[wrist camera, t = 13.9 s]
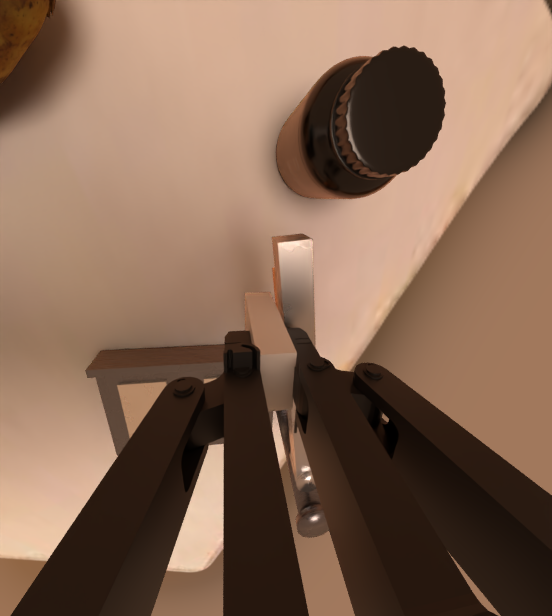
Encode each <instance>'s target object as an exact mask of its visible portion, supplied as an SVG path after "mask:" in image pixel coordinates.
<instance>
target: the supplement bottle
mask: <svg viewBox="0 0 552 616" xmlns="http://www.w3.org/2000/svg"><path fill="white" fill-rule="evenodd" d="M444 96H445V90H444V88H443V79H442V78H441V76H440V75H439V71H438V68H437V67H436V66H434V64H433V61H432V59H430V58H428V57H427V56H426V55H425V53H424V52H419V51H418V50H417V49H416V48H415V47H413V48H408V47H406V46H402V47H400V48H397V47H391V48H390V49H389V50H383V51H381V52H379V53H378V54H377V55H376V56H375V57H370V56H358V57H352V58H349V59H346V60H344V61H341V62H339V63H338V64H336V65H334V66H333V67H332V68H330V69H329V70H328V71H327V72H326V73H324V74H323V75H322V76H321V77H320V79H319V80H318V81H317V82H316V83H315V84H314V86H313V87H312V88H311V89H310V91H309V92H308V93H307V95H306V96H305V97H304V98H303V100H302V101H301V102H300V104H299V105H298V106H297V107H296V109H295V110H294V111H293V113H292V114H291V115H290V116H289V118H288V119H287V121H286V122H285V124H284V126H283V127H282V130H281V132H280V135H279V138H278V142H277V149H276V157H277V164H278V168H279V171H280V174H281V176H282V178H283V180H284V181H285V183H286V184H287V185H288V186H289V187H290V188H291V189H292V190H293V191H294V192H296V193H297V194H299V195H301V196H304V197H308V198H316V199H356V198H362V197H366V196H369V195H371V194H374V193H376V192H377V191H379V190H381V189H382V188H384V187H385V186H386V185H387V184H389V183H390V182H391V181H392V180H393V179H394V178H395V176H396V175H398V174H400V173H401V172H406V171H408V170H409V169H410V168H411V167H414V166H416V165H417V164H418V162H419V161H420V160H422V159H424V157H425V156H426V154H427V152H428V151H430V150H431V148H432V146H433V143H434V142H435V141H436V140H437V137H438V133H439V131H440V130H441V128H442V121H443V119H444V116H445V113H444V108H445V104H446V102H445V99H444Z"/></svg>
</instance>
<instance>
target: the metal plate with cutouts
mask: <svg viewBox="0 0 552 616" xmlns="http://www.w3.org/2000/svg"><path fill="white" fill-rule="evenodd" d="M224 350H225V345H205V346H185V347H165V348H145V349H125V350H105V351H100V353H99V354H98V355H97V356H96V358H95V359H94V360H93V361H92V363H91V364H90V365H89V366H88V368H87V369H86V370H85V371H86V374H87V378H94V377H96V380H97V384H98V387H99V391H100V395H101V398H102V402H103V406H104V409H105V413H106V416H107V420H108V424H109V427H110V431H111V435H112V438H113V442H114V446H115V449H116V453H117V455H119V454H120V453H121V451H122V450H123V448H124V447H125V445H126V444H127V442H128V441H129V439H130V438H131V436H132V435H133V433H134V432H135V430H136V429H137V427H138V426H139V424H140V423H141V421H142V420H143V418H144V417H145V416H146V414H147V413H148V411H149V410H150V408H151V407H152V405H153V404H154V402H155V401H156V399H157V398H158V396H159V395H160V393H161V392H162V390H163V389H164V387H165V386H166V385H167V384H168V383H170V382H172V381H173V380H175V379H178V378H182V377H195V378H198V379H200V380H201V381H202V382H203V384H204V383H207V382H210V381H213V380H215V379H217V378H218V377H220V376H221V375H222V373H223V372H224V361H223V352H224ZM268 412H269V417H270V422H271V427H272V420H273V411H268ZM223 443H224V437H223V438H221V439H218V440H216V441H213V442H211V443H209V445H214V444H223Z"/></svg>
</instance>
